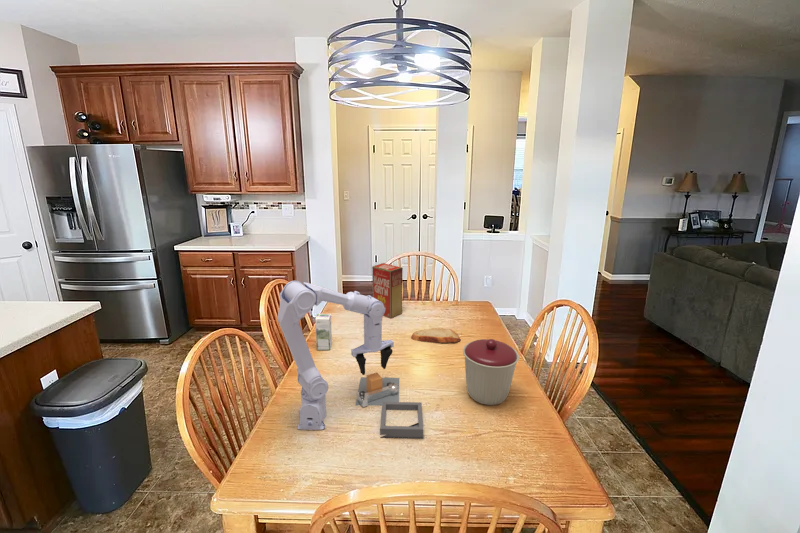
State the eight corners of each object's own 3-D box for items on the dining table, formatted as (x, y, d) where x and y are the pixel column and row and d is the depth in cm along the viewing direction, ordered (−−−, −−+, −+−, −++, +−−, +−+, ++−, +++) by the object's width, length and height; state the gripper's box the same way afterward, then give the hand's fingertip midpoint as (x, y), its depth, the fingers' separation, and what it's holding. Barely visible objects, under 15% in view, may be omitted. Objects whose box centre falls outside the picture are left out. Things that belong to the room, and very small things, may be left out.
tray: (423, 438, 110) (423, 429, 109) (380, 438, 110) (380, 428, 109) (421, 411, 122) (421, 402, 121) (382, 410, 122) (382, 401, 121)
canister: (493, 376, 141) (498, 324, 135) (525, 405, 125) (532, 348, 119) (450, 386, 135) (453, 332, 129) (478, 418, 119) (483, 358, 113)
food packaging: (371, 312, 198) (371, 265, 191) (384, 306, 205) (384, 262, 198) (391, 319, 190) (391, 271, 183) (403, 313, 197) (403, 267, 190)
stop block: (377, 387, 132) (377, 372, 130) (382, 393, 128) (382, 378, 127) (366, 390, 130) (366, 375, 128) (371, 397, 126) (371, 381, 125)
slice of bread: (407, 337, 171) (407, 330, 170) (435, 326, 183) (435, 319, 181) (436, 353, 158) (436, 345, 157) (464, 340, 169) (465, 332, 168)
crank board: (398, 409, 123) (398, 402, 122) (355, 408, 123) (355, 401, 122) (399, 380, 138) (399, 374, 137) (360, 380, 138) (360, 374, 137)
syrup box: (332, 344, 164) (331, 312, 160) (330, 350, 158) (329, 318, 154) (319, 344, 164) (317, 312, 160) (316, 350, 158) (314, 318, 154)
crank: (393, 387, 132) (393, 377, 131) (400, 395, 128) (401, 385, 126) (356, 399, 125) (356, 389, 124) (362, 407, 121) (362, 397, 120)
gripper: (387, 324, 130) (386, 359, 134) (347, 333, 123) (348, 370, 127) (396, 332, 124) (396, 369, 128) (355, 342, 117) (356, 380, 121)
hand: (373, 370), depth 127 cm, fingers open, 7 cm apart
